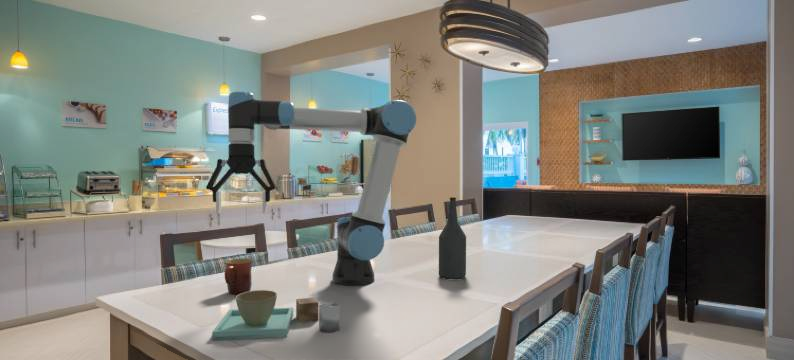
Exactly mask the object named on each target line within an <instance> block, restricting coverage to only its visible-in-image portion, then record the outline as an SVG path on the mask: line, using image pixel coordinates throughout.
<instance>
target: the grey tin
mask: <svg viewBox="0 0 794 360" xmlns="http://www.w3.org/2000/svg"><path fill="white" fill-rule="evenodd" d="M318 330H319V333H323V334H333V333H337V332H339V330H340V304H339V303H336V302H326V303H325V302H324V303H321V304H319V305H318Z"/></svg>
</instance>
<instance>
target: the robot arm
mask: <svg viewBox="0 0 794 360" xmlns="http://www.w3.org/2000/svg"><path fill="white" fill-rule="evenodd" d="M227 106H228V108H227V113H228V115H227V117H228V118H227V119H228V120H227V121H228V133H227V134H228V138H227V139H228V140H227V141H228V142H229V144H228V159H222V158H219V159H217V161H216V166H215V169H214V171H213V172H212V174H211V176H210V179H209V180H208V182H207V185H206V186H205V188H206V189H207V190H210V191H211V192H212V203H215V209H216V210H215V211H216V213H215V214H221V213H222V191H219V190H220V189H221V188H222V186H224V184H225V183H226V182H227V181H228V179H230V177H232V175H233V174H235V175H236V174H237V175H238V174H239V175H240V174H244V175H245V174H250V176H252V177H253V179H254V180H256V182H257V183H258V184H259V185H260V186H261V187H262V188H263V190H264V191H262V214H266V213H267V203H268V202H270V201H271V191H272V190H276V188H277V186H276V184H275V181H274V180H273V178H272V176H271V174H270V172H269V170H268V169H267V165H266V160H265V159H263V158H261V159H257V160H256V158H255V145H254V144H253V143H254V142H255V125H263V126H264V127H265V128H266V129H267V130H271V131H272V130H273V131H274V130H299V131H300V130H301V131H302V130H303V131H305V130H306V131H323V132H324V131H327V132H329V131H330V132H332V131H333V132H350V133H351V132H352V133H353V132H354V133H355V132H356V133H360V134H361V135H363V136H371V137H372V138H373V139H374V141H375V143H374V147H373V151H372V155H371V159H370V163H369V166H368V170H367V174H366V177H365V180H364V185H363V188H362V192H361V196H360V200H359V204H358V208H357V210H356V211H355V212H354V213H352V214H351V216H349V217H348V216H347V217H346V216H344V217H343V216H342V217H340V218H338V219H337V223H336V229H337V232H336V235H337V237H336V238H337V242H336V243H337V247H336V249H337V253H336V254H337V259H336V262H335V265H334V268H333V271H332V272H333V273H332V278H331V279H332V282H333V284H334V283H335V284H338V285H343V286H360V285H361V286H363V285H367V284H371V283H373V282H374V281H375V272H374V269H373V266H372V263H371V260H373V259H375V258H377V257H378V256H379V255H380V254H381V253H382V251H383V249H384V246H385V236H384V229H385V225H386V221H385V220H384V218H383V217H384V216H383V215H384V212H385V208H386V204H387V200H388V196H389V192H390V188H391V185H392V182H393V181H392V180H393V179H394V178H393V177H394V173H395V171H396V166H397V162H398V158H399V154H400V152H401V149H402V148H403V147H404V146H406V145H407V142H408V139H409V135H410V133H411V132H412V131H413V130H414V128H415V126H416V124H417V113H416V112H415V110H414V108H413V107H412V105H411V104H410V103H409V102H407V101H405V100H401V99H400V100H399V99H395V100H390V101H388V102H386V103H385V104H383V105H381V106H377V107H373V108H372V107H371V108H370V107H363V108H362V109H360V110H352V109H351V110H350V109H330V108H329V109H328V108H309V107H295V105H294V103H293V102H290V101H284V100H281V101H280V100H258V99H256V98H255V95H254V94H253V92H249V91H247V92H246V91H232V92H230V94H229V95H228V104H227ZM226 165H227V166H228V167H229V169H228V170H227V171H226V173H225V174H224V175H223V176H222V177H221V178H220V179H219V180H218V181H217V179H218V178H219V175H220V174H221V172H222V170H223V167H225V166H226ZM256 165H257V166H258V167H260V170H261V171H262V173H263V175H264V176H265V179H266V181H267V183H268V184H267V183H266V181H264V180H263V179H262V177H261V176H260V175H259V174H258V173H257V171H256V170H255V169H254V167H255V166H256ZM215 183H216V184H215Z"/></svg>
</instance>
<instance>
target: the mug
mask: <svg viewBox="0 0 794 360" xmlns="http://www.w3.org/2000/svg"><path fill="white" fill-rule="evenodd" d="M253 264H254V259H252V258H246V257H245V258H232V259H228V260H225V266H226V268H225V270H224V280H225V281H224V282H225V284H227V287H226V288H227V291H228V293H229V294H231V295H235V296H237V295H239V294H241V293H244V292H249V291H252V286H253V285H252V267H253Z"/></svg>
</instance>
